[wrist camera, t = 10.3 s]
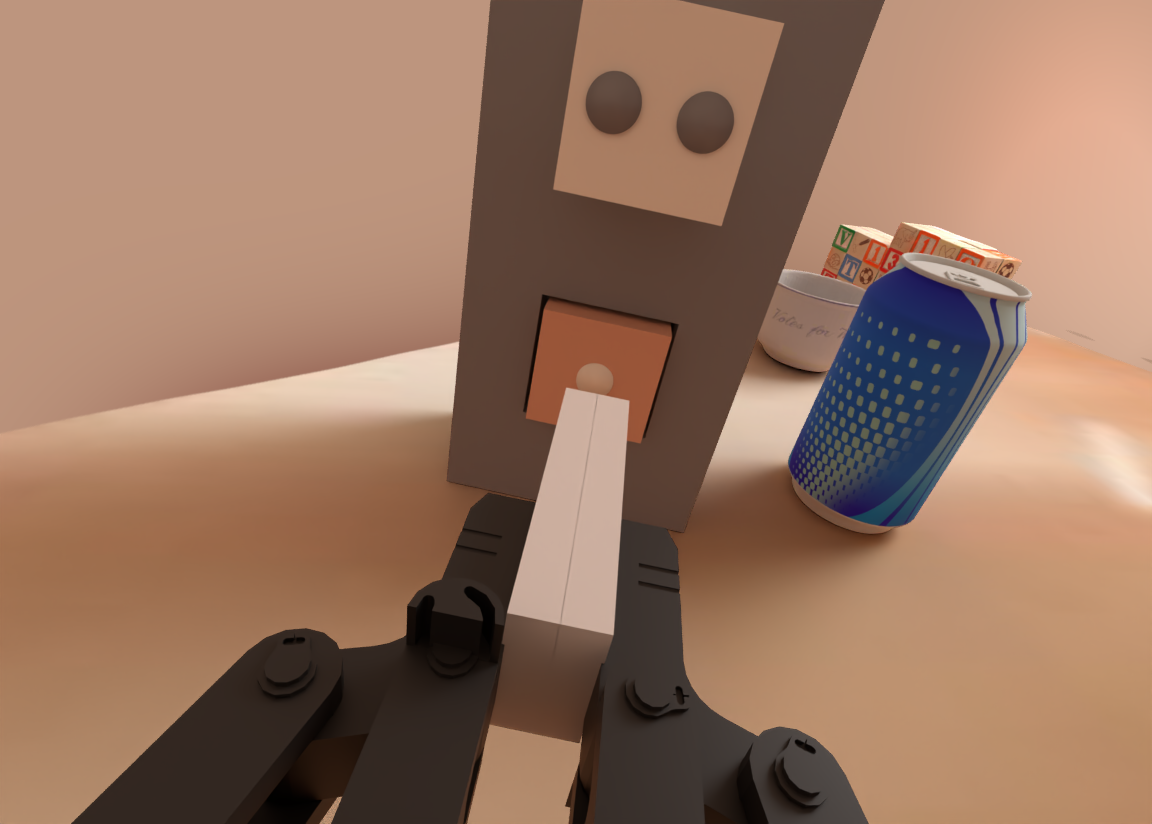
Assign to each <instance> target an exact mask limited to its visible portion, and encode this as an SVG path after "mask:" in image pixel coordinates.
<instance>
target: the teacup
mask: <svg viewBox="0 0 1152 824" xmlns="http://www.w3.org/2000/svg"><path fill="white" fill-rule="evenodd" d="M865 292H866V290H865V289H863V288H860V287H858V286H856V285H853V284H850V283H847V282H843V281H841V280H838V279H835V278H830V277H826V276H822V275H819V274H814V273H810V272H804V271H798V270H785V269H783V271H782V273H781V276H780V279H779V281H778V284H777V287H776V289H775V292H774V295H773V297H772V300H771V303H770V305H769V308H768V310H767V313H766V316H765V318H764V321H763V324H762V326H761V329H760V332H759V334H758V337H757V338H758V340H759V342H760V343H761V344H762V345H763V348H764V350H765V351H766V353H767V354H768V355H769V356H771V357H772V358H774V359H775V360H777V361H779V362H781V363H783V364H786V365H789V366H792V367H795V368H798V369H803V370H808V371H815V372H823V371H828V370H830V367H831V365H832V363H833V361H834V359H835V357H836V354H837V352H838V350H839V348H840V346H841V344H842V341H843V339H844V337H845V335H846V333H847V330H848V328H849V326H850V324H851V322H852V320H853V317H854V315H855V313H856V311H857V309H858V307H859V304H860V302H861V300H862V298H863V296H864V294H865Z"/></svg>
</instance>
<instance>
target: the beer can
mask: <svg viewBox="0 0 1152 824" xmlns="http://www.w3.org/2000/svg"><path fill="white" fill-rule="evenodd" d="M1031 297H1032V293H1031V292H1030V291H1029V290H1028V289H1027V288H1026V287H1024V286H1022V285H1021V284H1019V283H1017V282H1015V281H1013V280H1011V279H1008V278H1006V277H1004V276H1001V275H999V274H996V273H993V272H991V271H988V270H985V269H982V268H979V267H976V266H973V265H970V264H966V263H963V262H959V261H956V260H952V259H948V258H944V257H939V256H934V255H929V254H922V253H904V254H902V255H901V257H900V263H899V264H898V265H897V266H895V267H894V268H892V269H891V270H890V271H888V272H887V273H886V274H884V275H883V276H882V277H880V278H879V279H877V280H876V281H875V282H873V283H872V284H871V285H870V286H869V287H868V288H867V290H866V292H865V294H864V296H863V298H862V300H861V302H860V304H859V307H858V309H857V311H856V313H855V315H854V317H853V320H852V322H851V324H850V326H849V328H848V330H847V333H846V335H845V337H844V339H843V341H842V344H841V346H840V348H839V350H838V352H837V354H836V357H835V359H834V361H833V363H832V365H831V367H830V370H829V372H828V374H827V376H826V378H825V380H824V383H823V385H822V387H821V389H820V391H819V393H818V396H817V398H816V400H815V402H814V404H813V406H812V409H811V411H810V413H809V415H808V417H807V419H806V422H805V424H804V426H803V428H802V430H801V433H800V435H799V437H798V439H797V441H796V443H795V446H794V448H793V450H792V452H791V454H790V456H789V460H788V467H789V471H790V474H791V476H792V484H793V488H794V490H795V492H796V494H797V495H798V497H799V498H800V499H801V500H802V502H803V503H804V504H805V505H806V506H807V507H809V508H810V509H811V510H812V511H814V512H815V513H816V514H818V515H819V516H821V517H822V518H824V519H826V520H827V521H829V522H831V523H833V524H835V525H838V526H840V527H843V528H845V529H848V530H852V531H855V532H860V533H867V534H878V533H883V532H886V531H889V530H890V529H892V528H895V527H900V526H904V525H906V524H908V523H910V522H911V521H912V520H913V519H914V518H915V516H916V515H917V513H918V512H919V510H920V508H921V507H922V505H923V504H924V502H925V501H926V499H927V497H928V496H929V494H930V493H931V491H932V490H933V488H934V487H935V485H936V483H937V482H938V480H939V479H940V477H941V476H942V474H943V472H944V471H945V469H946V468H947V466H948V465H949V463H950V462H951V460H952V458H953V457H954V455H955V454H956V452H957V451H958V449H959V447H960V446H961V444H962V443H963V441H964V440H965V438H966V436H967V435H968V433H969V432H970V430H971V429H972V427H973V426H974V424H975V422H976V421H977V419H978V418H979V416H980V415H981V413H982V411H983V410H984V408H985V407H986V405H987V404H988V402H989V401H990V399H991V397H992V396H993V394H994V393H995V391H996V390H997V388H998V386H999V385H1000V383H1001V382H1002V380H1003V379H1004V377H1005V376H1006V374H1007V372H1008V371H1009V369H1010V368H1011V366H1012V365H1013V363H1014V361H1015V360H1016V358H1017V357H1018V355H1019V354H1020V352H1021V351H1022V349H1023V347H1024V346H1025V344H1026V342H1027V324H1026V310H1025V303H1026V301H1028V300H1030V298H1031Z"/></svg>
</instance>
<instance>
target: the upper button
mask: <svg viewBox="0 0 1152 824" xmlns="http://www.w3.org/2000/svg"><path fill="white" fill-rule="evenodd" d="M783 26H784V23H780V22H776V21H771V20H767V19H762V18H758V17H753V16H749V15H744V14H739V13H735V12H730V11H726V10H721V9H717V8H712V7H707V6H703V5H698V4H694V3H689V2H685V1H680V0H583V4H582V10H581V17H580V23H579V29H578V36H577V42H576V48H575V54H574V61H573V67H572V73H571V80H570V86H569V92H568V99H567V105H566V111H565V117H564V124H563V130H562V136H561V143H560V149H559V155H558V162H557V168H556V174H555V180H554V187H553V189H554V190H559V191H563V192H568V193H572V194H577V195H581V196H586V197H591V198H595V199H600V200H604V201H609V202H613V203H618V204H622V205H627V206H632V207H636V208H641V209H645V210H650V211H654V212H659V213H664V214H668V215H673V216H677V217H682V218H686V219H691V220H696V221H700V222H705V223H709V224H714V225H718V226H722V223H723V220H724V216H725V213H726V210H727V207H728V203H729V200H730V197H731V194H732V191H733V187H734V184H735V181H736V178H737V174H738V171H739V168H740V165H741V162H742V158H743V155H744V152H745V149H746V145H747V142H748V139H749V136H750V133H751V129H752V126H753V123H754V120H755V116H756V113H757V110H758V107H759V104H760V100H761V97H762V94H763V91H764V87H765V84H766V81H767V78H768V75H769V71H770V68H771V65H772V62H773V58H774V55H775V52H776V49H777V46H778V42H779V39H780V36H781V33H782V29H783Z"/></svg>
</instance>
